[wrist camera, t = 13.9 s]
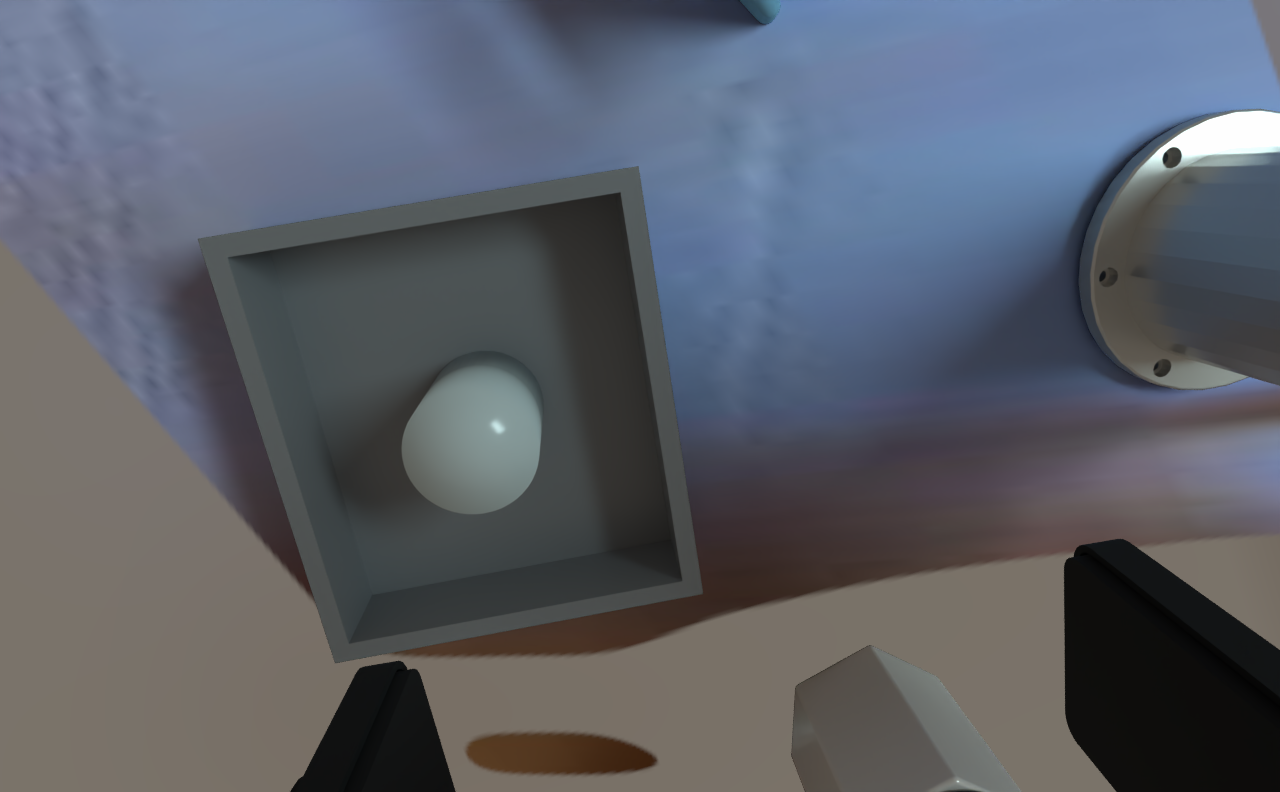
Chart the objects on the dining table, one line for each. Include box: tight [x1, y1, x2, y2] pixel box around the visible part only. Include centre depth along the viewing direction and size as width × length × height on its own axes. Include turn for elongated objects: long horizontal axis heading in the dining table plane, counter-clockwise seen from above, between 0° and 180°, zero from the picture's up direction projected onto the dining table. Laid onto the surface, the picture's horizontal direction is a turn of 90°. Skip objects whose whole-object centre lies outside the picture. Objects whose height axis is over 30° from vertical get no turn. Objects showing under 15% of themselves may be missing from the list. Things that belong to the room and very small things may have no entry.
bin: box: [198, 166, 703, 663], centre depth 32 cm, size 16×18×4 cm
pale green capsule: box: [402, 351, 544, 514], centre depth 31 cm, size 5×5×6 cm
